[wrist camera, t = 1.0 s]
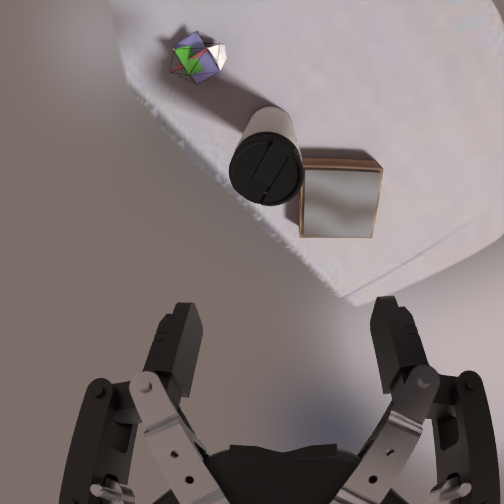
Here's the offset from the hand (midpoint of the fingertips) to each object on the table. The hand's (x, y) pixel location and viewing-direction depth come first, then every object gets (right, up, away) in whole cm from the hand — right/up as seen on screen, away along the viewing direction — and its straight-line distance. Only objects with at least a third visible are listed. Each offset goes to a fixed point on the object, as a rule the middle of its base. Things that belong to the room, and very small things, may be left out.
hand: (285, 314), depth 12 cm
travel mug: (+1, +21, +26) cm, 33 cm away
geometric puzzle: (-8, +30, +20) cm, 37 cm away
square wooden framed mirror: (+12, +12, +31) cm, 36 cm away
